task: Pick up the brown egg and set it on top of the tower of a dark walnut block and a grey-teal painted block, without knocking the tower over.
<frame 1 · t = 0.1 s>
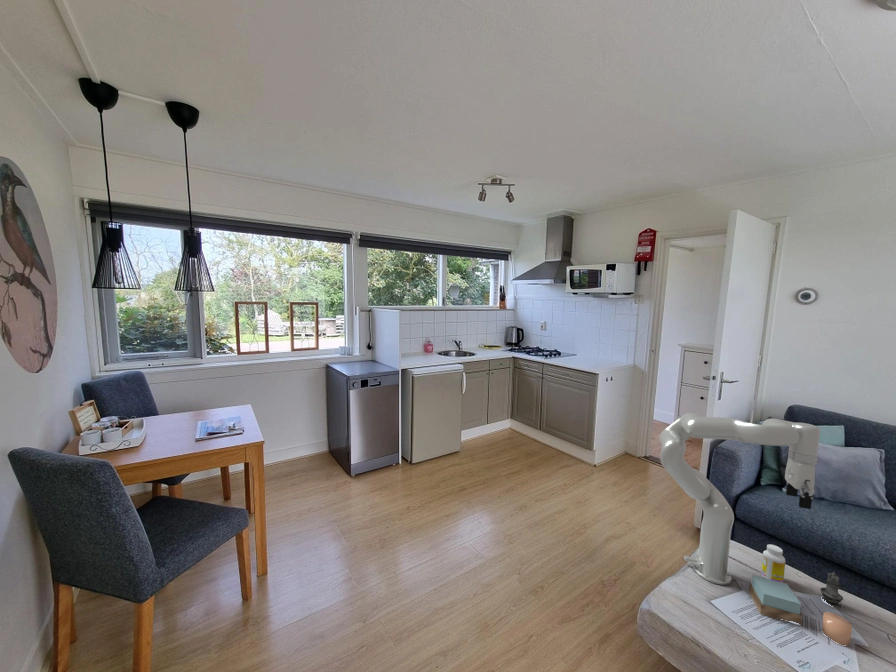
hand: (797, 501, 133), 37 cm above the table, tool pointing down, fingers open, 9 cm apart
tower top block: (774, 599, 128), point 3 cm above the table, touching tower base block
tower base block: (773, 609, 129), on the table, touching tower top block
dark grey figurine: (830, 603, 132), on the table
supplement bottle: (771, 578, 144), on the table
brown egg: (835, 637, 118), on the table
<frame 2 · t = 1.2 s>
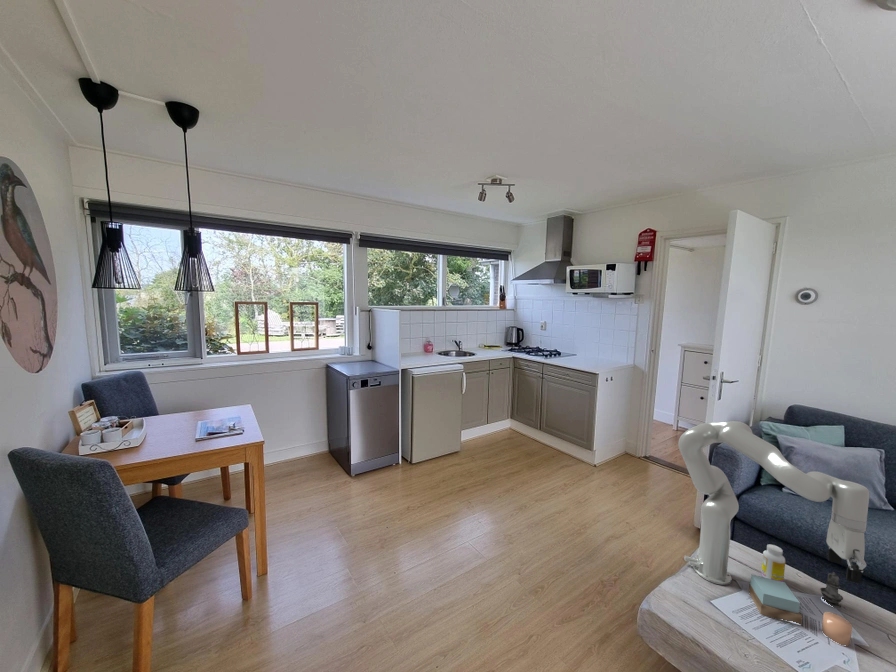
hand: (843, 571, 116), 23 cm above the table, tool pointing down, fingers open, 9 cm apart
tower top block: (773, 598, 129), point 3 cm above the table
tower base block: (773, 609, 129), on the table
everything else where it was.
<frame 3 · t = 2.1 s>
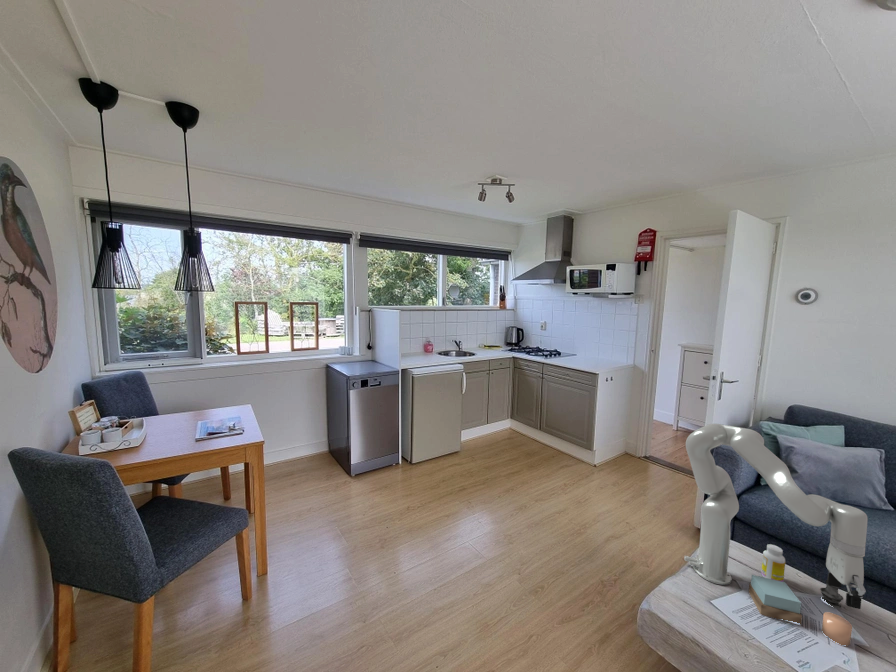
hand: (843, 596, 116), 15 cm above the table, tool pointing down, fingers open, 9 cm apart
nothing on the table moved.
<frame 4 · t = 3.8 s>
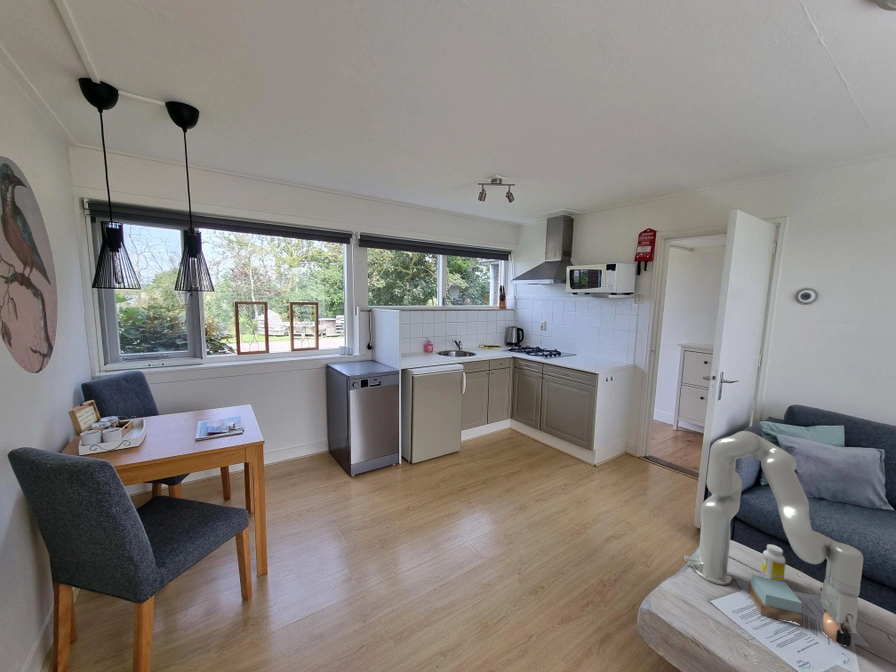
hand: (836, 634, 117), 1 cm above the table, tool pointing down, fingers closed on brown egg, 6 cm apart
tower top block: (774, 598, 128), point 4 cm above the table, touching tower base block
tower base block: (773, 609, 129), on the table, touching tower top block
brown egg: (835, 637, 118), on the table, touching gripper
everything else where it was.
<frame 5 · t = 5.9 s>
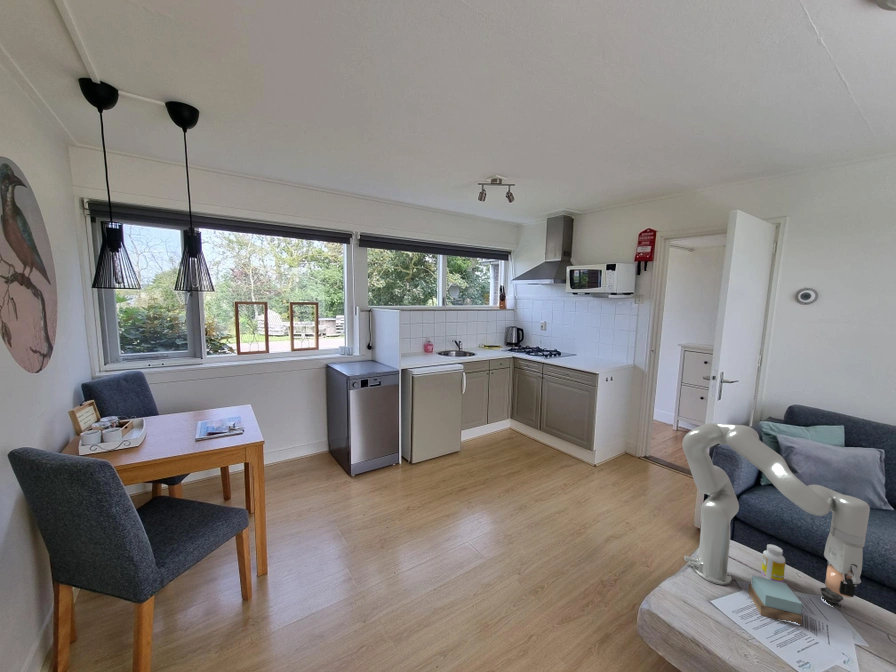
hand: (839, 586, 117), 17 cm above the table, tool pointing down, fingers closed on brown egg, 6 cm apart
brown egg: (839, 589, 117), point 16 cm above the table, touching gripper
everything else where it was.
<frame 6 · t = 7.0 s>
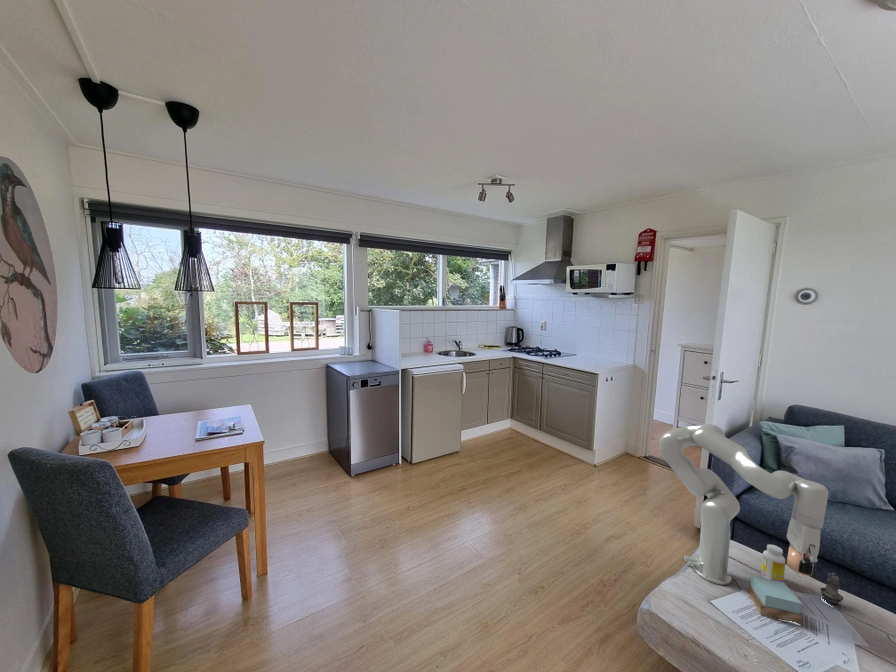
hand: (799, 565, 124), 19 cm above the table, tool pointing down, fingers closed on brown egg, 6 cm apart
brown egg: (799, 568, 124), point 18 cm above the table, touching gripper
everything else where it was.
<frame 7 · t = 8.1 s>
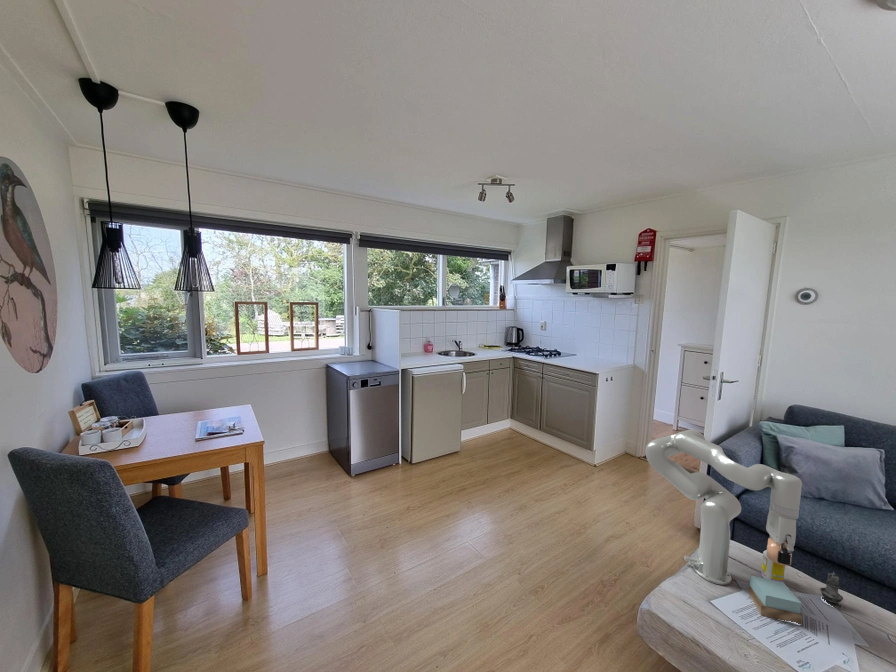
hand: (778, 556, 127), 19 cm above the table, tool pointing down, fingers closed on brown egg, 6 cm apart
brown egg: (778, 559, 127), point 18 cm above the table, touching gripper
everything else where it was.
when the fingers open (10 cm above the table, at t = 11.5 s): brown egg drops 1 cm, resting on tower top block.
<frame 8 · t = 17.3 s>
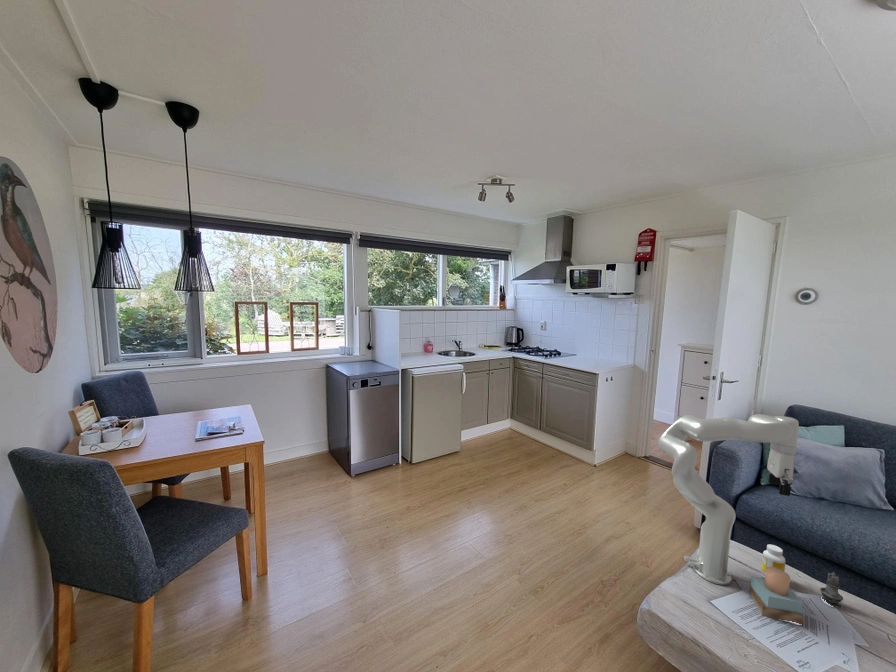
hand: (778, 489, 143), 36 cm above the table, tool pointing down, fingers open, 9 cm apart
tower top block: (775, 599, 128), point 3 cm above the table, touching brown egg, tower base block
brown egg: (776, 588, 128), point 7 cm above the table, touching tower top block
everything else where it was.
at the end: brown egg 0.2 cm off-centre on the tower base block, point 8.0 cm above the tower base block's base; brown egg tilted 0°; tower top block 0.2 cm off-centre on the tower base block, point 4.0 cm above the tower base block's base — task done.
